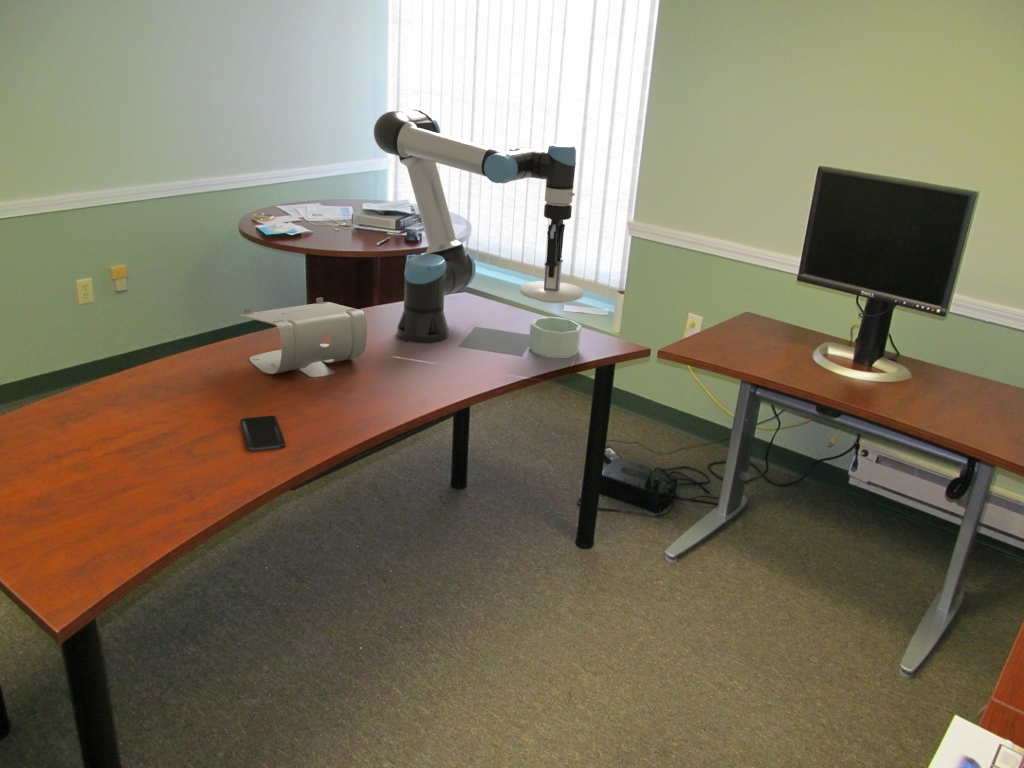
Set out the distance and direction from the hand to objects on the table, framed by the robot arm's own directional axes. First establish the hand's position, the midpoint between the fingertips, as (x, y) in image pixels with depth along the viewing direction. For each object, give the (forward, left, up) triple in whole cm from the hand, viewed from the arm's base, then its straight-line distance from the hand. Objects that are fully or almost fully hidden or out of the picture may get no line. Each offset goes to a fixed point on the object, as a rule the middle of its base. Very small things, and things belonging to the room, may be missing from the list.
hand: (552, 286), depth 233 cm
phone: (-48, -79, -20) cm, 94 cm away
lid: (0, 0, -3) cm, 3 cm away
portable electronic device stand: (-58, -37, -20) cm, 72 cm away
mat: (-15, 0, -19) cm, 24 cm away
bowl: (+2, 0, -19) cm, 19 cm away
